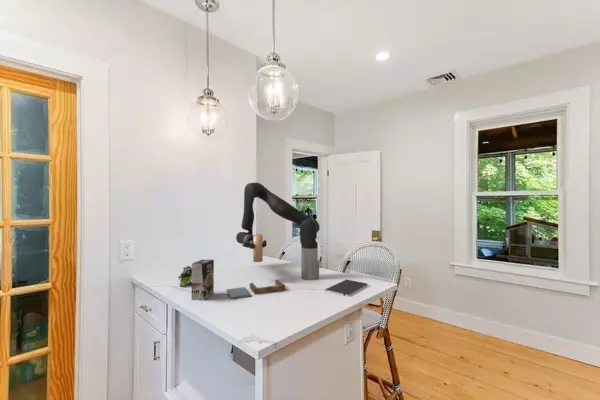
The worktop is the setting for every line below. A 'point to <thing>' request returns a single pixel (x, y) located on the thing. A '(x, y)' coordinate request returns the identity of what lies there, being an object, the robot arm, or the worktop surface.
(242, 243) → the robot arm
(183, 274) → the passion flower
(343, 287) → the notebook
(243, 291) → the slate pad
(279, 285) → the wooden u-shaped frame
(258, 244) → the canister
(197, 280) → the coffee box
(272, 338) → the worktop surface
